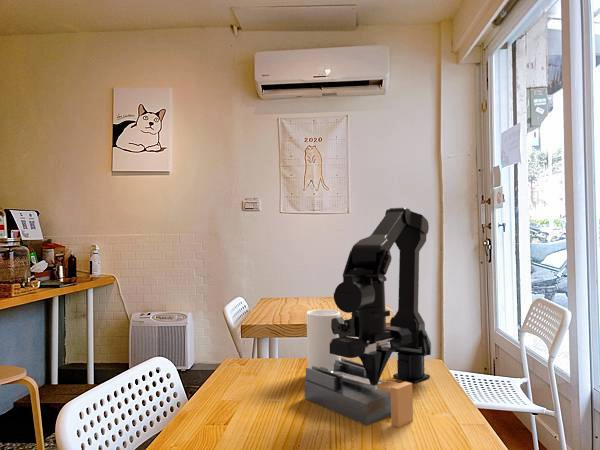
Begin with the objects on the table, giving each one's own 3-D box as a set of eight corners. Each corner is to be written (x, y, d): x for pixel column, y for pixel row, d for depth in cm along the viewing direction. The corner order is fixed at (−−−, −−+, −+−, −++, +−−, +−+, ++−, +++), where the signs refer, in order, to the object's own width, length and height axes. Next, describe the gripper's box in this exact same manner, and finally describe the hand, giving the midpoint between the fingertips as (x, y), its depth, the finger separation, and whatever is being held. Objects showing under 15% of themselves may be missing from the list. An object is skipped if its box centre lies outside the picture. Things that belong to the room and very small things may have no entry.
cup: (339, 383, 107) (337, 315, 107) (305, 381, 109) (303, 315, 109) (342, 372, 115) (341, 309, 115) (311, 370, 117) (309, 309, 117)
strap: (324, 376, 99) (324, 372, 99) (334, 374, 101) (333, 369, 101) (374, 390, 88) (374, 385, 88) (383, 387, 90) (383, 382, 90)
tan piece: (391, 412, 89) (390, 376, 89) (413, 420, 85) (412, 383, 85) (376, 418, 87) (375, 382, 87) (398, 427, 83) (397, 389, 83)
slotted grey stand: (344, 385, 105) (343, 357, 105) (407, 408, 91) (406, 376, 91) (304, 398, 98) (304, 368, 98) (366, 425, 84) (365, 390, 84)
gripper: (371, 298, 103) (374, 367, 102) (309, 307, 91) (312, 386, 90) (412, 302, 94) (415, 377, 93) (349, 312, 82) (352, 399, 81)
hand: (373, 384), depth 90 cm, fingers closed, pressing on strap
